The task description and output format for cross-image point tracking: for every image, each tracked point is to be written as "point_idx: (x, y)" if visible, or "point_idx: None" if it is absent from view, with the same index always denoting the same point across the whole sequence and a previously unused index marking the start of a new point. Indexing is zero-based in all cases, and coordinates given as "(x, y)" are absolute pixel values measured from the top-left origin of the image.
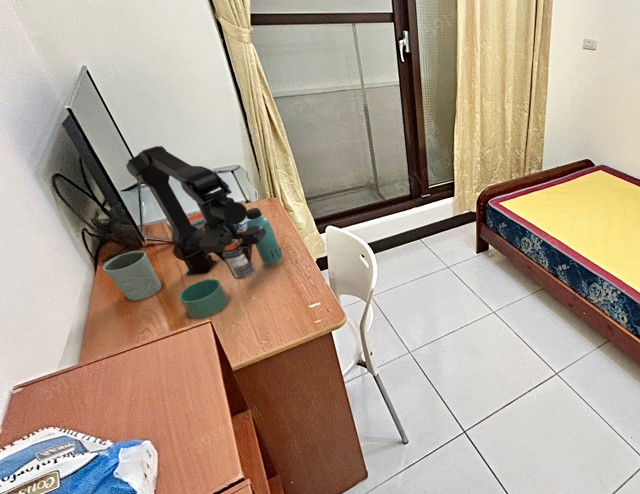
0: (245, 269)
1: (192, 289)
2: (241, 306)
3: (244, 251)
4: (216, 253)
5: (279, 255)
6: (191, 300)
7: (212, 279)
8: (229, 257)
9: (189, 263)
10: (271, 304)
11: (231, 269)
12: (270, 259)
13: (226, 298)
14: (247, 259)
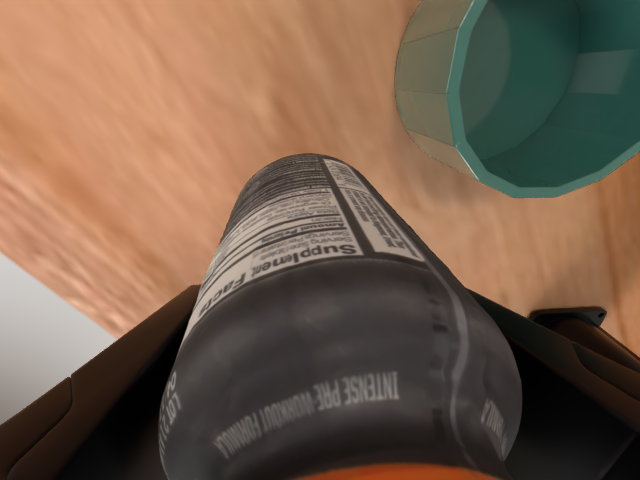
0: (241, 202)
1: (612, 133)
2: (299, 27)
3: (77, 415)
4: (614, 378)
5: None
6: (586, 92)
7: (513, 192)
8: (350, 271)
9: (622, 349)
10: (104, 8)
11: (362, 186)
12: None
13: (401, 94)
14: (195, 297)
